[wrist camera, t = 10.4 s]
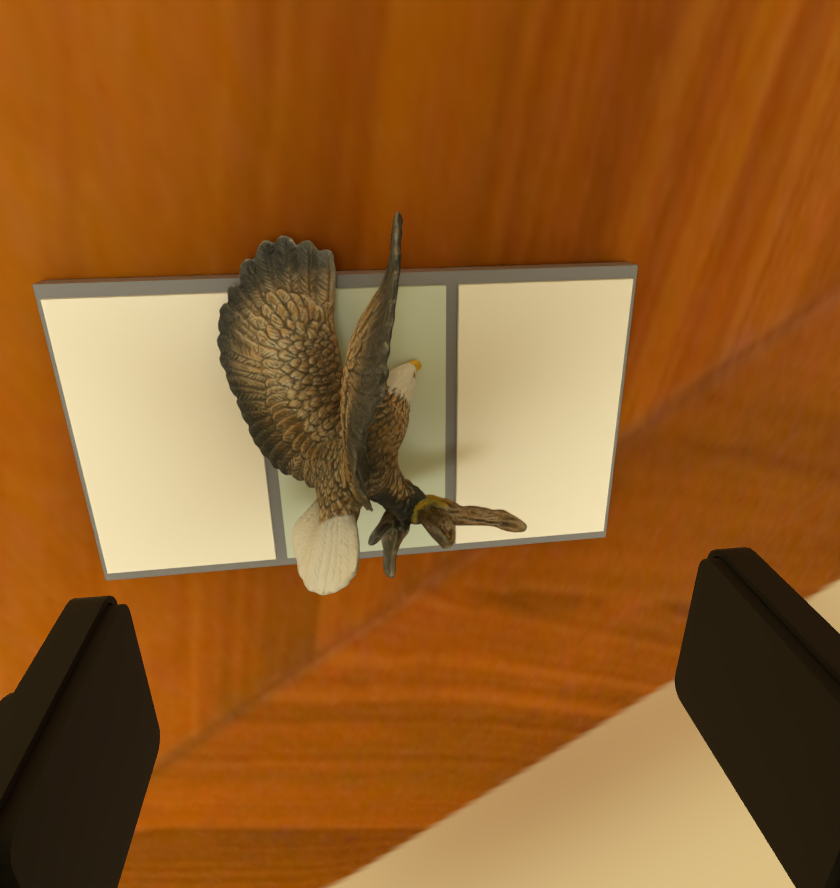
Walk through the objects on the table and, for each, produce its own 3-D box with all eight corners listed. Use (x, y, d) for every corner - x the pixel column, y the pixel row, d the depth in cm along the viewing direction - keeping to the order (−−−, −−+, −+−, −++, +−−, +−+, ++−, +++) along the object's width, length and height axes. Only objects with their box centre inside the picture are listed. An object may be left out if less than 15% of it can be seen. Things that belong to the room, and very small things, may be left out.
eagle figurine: (553, 434, 20) (450, 161, 15) (504, 628, 16) (332, 331, 11) (358, 452, 24) (224, 238, 19) (273, 613, 20) (64, 388, 14)
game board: (627, 261, 21) (641, 266, 20) (597, 526, 25) (607, 540, 24) (43, 280, 19) (29, 285, 18) (112, 567, 23) (104, 584, 22)
